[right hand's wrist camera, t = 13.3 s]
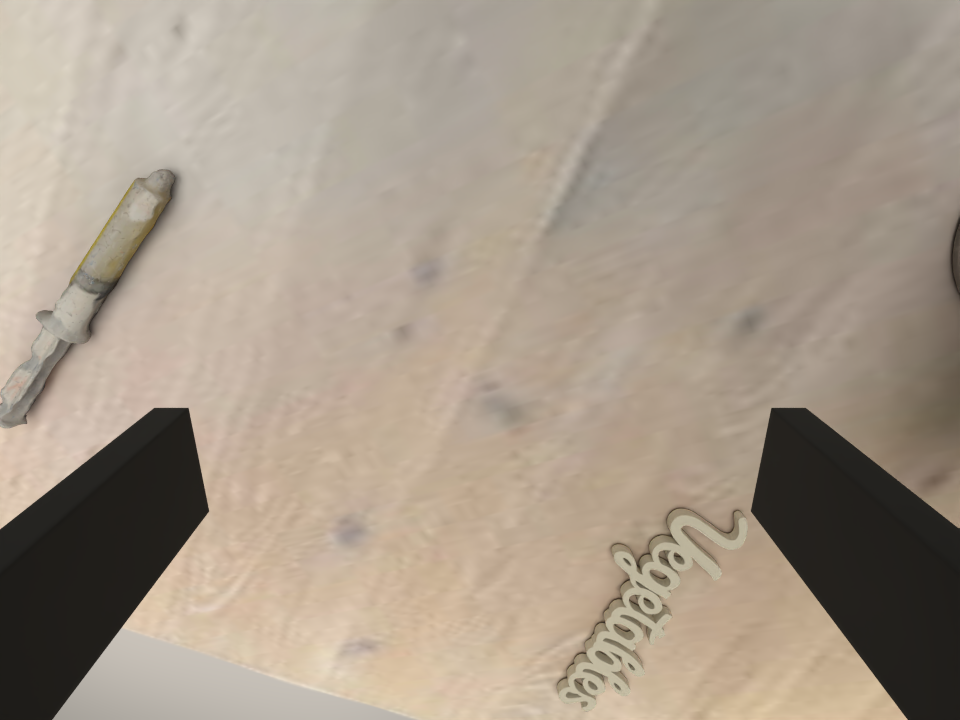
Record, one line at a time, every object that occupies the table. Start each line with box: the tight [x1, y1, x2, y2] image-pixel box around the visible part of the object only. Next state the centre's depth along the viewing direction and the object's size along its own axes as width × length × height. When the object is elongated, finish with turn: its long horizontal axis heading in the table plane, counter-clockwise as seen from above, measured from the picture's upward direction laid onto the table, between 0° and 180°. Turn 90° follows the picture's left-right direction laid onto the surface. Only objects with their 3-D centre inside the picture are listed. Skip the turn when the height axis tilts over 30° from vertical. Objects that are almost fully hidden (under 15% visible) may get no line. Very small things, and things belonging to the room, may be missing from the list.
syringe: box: [0, 169, 175, 428], centre depth 42 cm, size 25×4×3 cm, turn 136°
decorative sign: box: [557, 509, 748, 711], centre depth 53 cm, size 26×1×10 cm
